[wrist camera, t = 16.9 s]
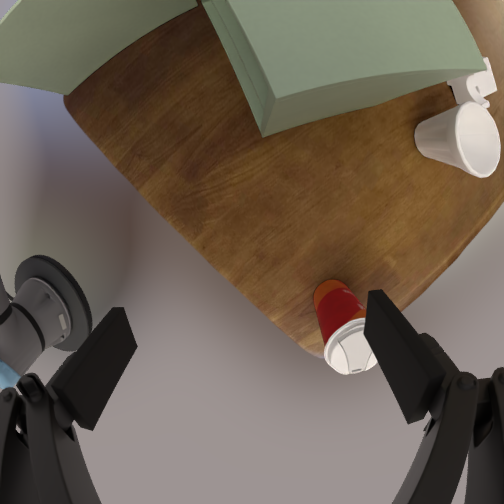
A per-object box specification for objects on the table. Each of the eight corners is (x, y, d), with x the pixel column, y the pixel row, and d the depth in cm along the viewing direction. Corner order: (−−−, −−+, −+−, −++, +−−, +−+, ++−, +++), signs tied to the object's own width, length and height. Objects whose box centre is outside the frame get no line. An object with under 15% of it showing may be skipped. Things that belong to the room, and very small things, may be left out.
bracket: (453, 102, 32) (483, 109, 26) (441, 67, 28) (472, 69, 22) (484, 87, 30) (511, 93, 23) (475, 56, 26) (502, 59, 20)
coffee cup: (352, 312, 44) (384, 369, 30) (307, 320, 44) (325, 383, 30) (354, 268, 41) (395, 318, 27) (305, 275, 42) (327, 331, 27)
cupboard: (262, 137, 35) (275, 99, 12) (201, 2, 27) (161, -95, 5) (374, 105, 33) (487, 70, 10) (306, -22, 25) (338, -113, 2)
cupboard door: (58, 70, 30) (-37, 47, 7) (181, -16, 25) (136, -102, 3) (67, 95, 32) (-38, 79, 9) (198, 5, 27) (155, -91, 5)
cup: (395, 116, 33) (445, 105, 21) (437, 106, 32) (488, 97, 19) (414, 176, 36) (467, 187, 24) (454, 161, 35) (506, 168, 22)
